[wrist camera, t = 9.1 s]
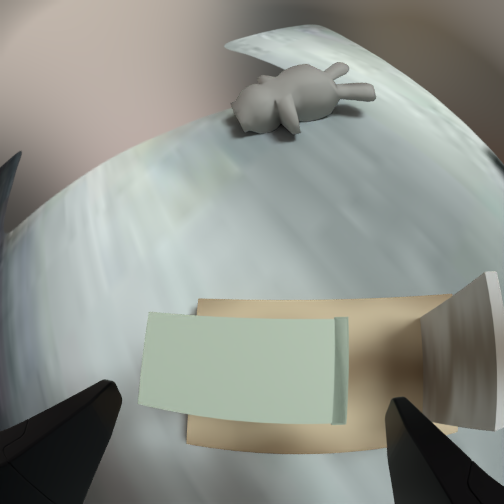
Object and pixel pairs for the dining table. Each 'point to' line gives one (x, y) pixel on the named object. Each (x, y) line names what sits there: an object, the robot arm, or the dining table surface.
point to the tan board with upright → (385, 368)
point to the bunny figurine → (296, 97)
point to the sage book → (247, 368)
